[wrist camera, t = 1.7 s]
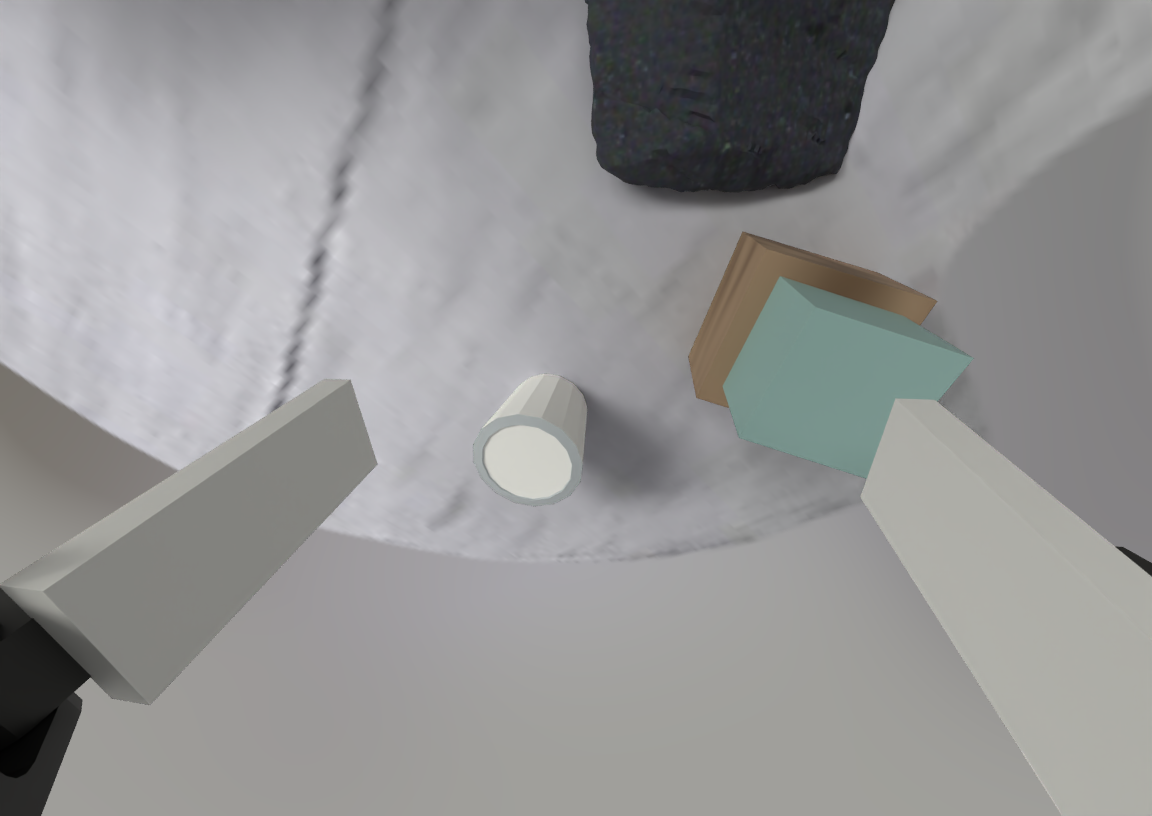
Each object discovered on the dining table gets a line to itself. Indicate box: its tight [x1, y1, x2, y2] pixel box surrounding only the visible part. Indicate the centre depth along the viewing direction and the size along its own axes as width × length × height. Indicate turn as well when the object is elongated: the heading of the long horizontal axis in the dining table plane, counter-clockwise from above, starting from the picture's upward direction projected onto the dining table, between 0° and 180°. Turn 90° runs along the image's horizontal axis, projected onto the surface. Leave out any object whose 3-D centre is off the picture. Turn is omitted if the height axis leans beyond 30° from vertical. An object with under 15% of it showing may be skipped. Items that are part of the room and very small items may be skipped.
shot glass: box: [473, 374, 587, 506], centre depth 29 cm, size 7×7×7 cm
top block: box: [723, 276, 974, 479], centre depth 19 cm, size 6×6×5 cm
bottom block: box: [688, 232, 937, 408], centre depth 24 cm, size 8×8×6 cm
